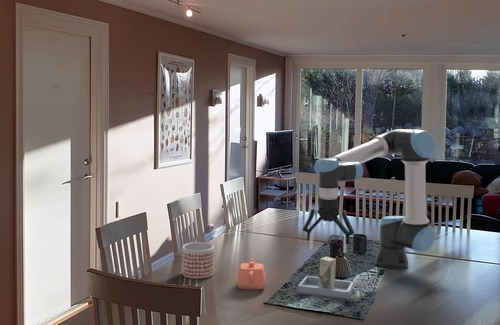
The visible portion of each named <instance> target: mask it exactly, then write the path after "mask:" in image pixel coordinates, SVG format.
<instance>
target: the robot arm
mask: <svg viewBox="0 0 500 325" xmlns="http://www.w3.org/2000/svg"><path fill="white" fill-rule="evenodd" d="M435 144H436V143H435V139H434V137H433V136H432V134H431V133H430V132H429V131H427V130H421V129H412V128H411V129H408V128H407V129H406V128H405V129H403V128H397V129H392V130H389V131H387V132H384V133H382V134H378V135H376V136H375V137H373V138H372V140H370V141H368V142H366V143H363V144H361V145H359V146H355V147H353V148H350V149H349V150H346V151H344V152H342V153H339V154H336V155H334V156H332V157H331V156H330V157H329V158H319V159H317V160H316V161H315V163H314V166H313V168H314V172H315V174H316V175H317V176H318V178H319V180H318V184H319V185H318V188H319V189H318V192H319V193H318V197H319V198H318V209H316V208H315V207H313V208H311V209H310V214H309V216H308V218H307V221H306V222H305V224H304V226H303V228H302V231H303V232H306V234H307V235H306V237H307V238H306V240H307V241H308V242H309V250H313V248H314V231H313V230H314V229H315V228H316V227H317V225H318V224H320V222H321V221H324V222H334V223H335V224H336V225H337V227H338V228H339V229H340V230H341V232H342V233H343V234H344V235H343V249H342V250H343V251H342V253H343V254H346V253H347V248H348V247H347V245H349V243H350V236H353V235H354V234H355V231H354V228H353V226H352V224H351V222H350V219H349V218H348V216H347V210H345V209H344V210H339V185H340V184H339V183H342V182H354V181H358V180H360V179H361V178H362V177H363V175H364V167H363V165H362V164H363V163H366V162H368V161H370V160H373V159H375V158H378V157H386V156H388V155H399V156H400V157H401V158H400V159H401V160H400V161H401V162H402V163H403V164H404V177H405V178H404V179H405V180H404V185H405V188H404V189H405V215H404V216H403V215H388V216H383V217H382V218H381V219H380V225H379V248H378V251H377V253H376V256H375V259H374V261H375V262H374V263H375V265H377V266H378V267H382V268H386V269H395V270H397V269H399V270H400V269H406V268H407V267H409V258H408V255H407V252H406V249H407V248H408V249H411V250H413V251H418V252H420V253H421V252H423V253H424V252H426V251H428V250H430V249H431V248H432V246H433V245H434V244H435V240H436V236H437V235H436V234H437V233H436V231H435V229H434V227H432V226H430V219H429V218H428V217H427V211H426V210H427V202H426V201H427V198H426V197H427V196H426V194H427V193H426V191H427V189H426V186H427V185H426V180H427V179H426V165H427V163H428V162H429V161H430V157H431V156H432V155H433V154H434V152H435V149H436V147H435V146H436V145H435ZM316 214H318V216H319V217H318V218H317V219H316V220H315V222H313V224H312V225H311V222H312V220H313V218H314V217H315V215H316ZM339 215H340V217H342V219H343V222H344V224H345V225H344V224H343V222H341V220H340V218H339V217H338V216H339ZM310 225H311V226H310ZM309 226H310V227H309ZM345 226H346V227H345Z"/></svg>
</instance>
